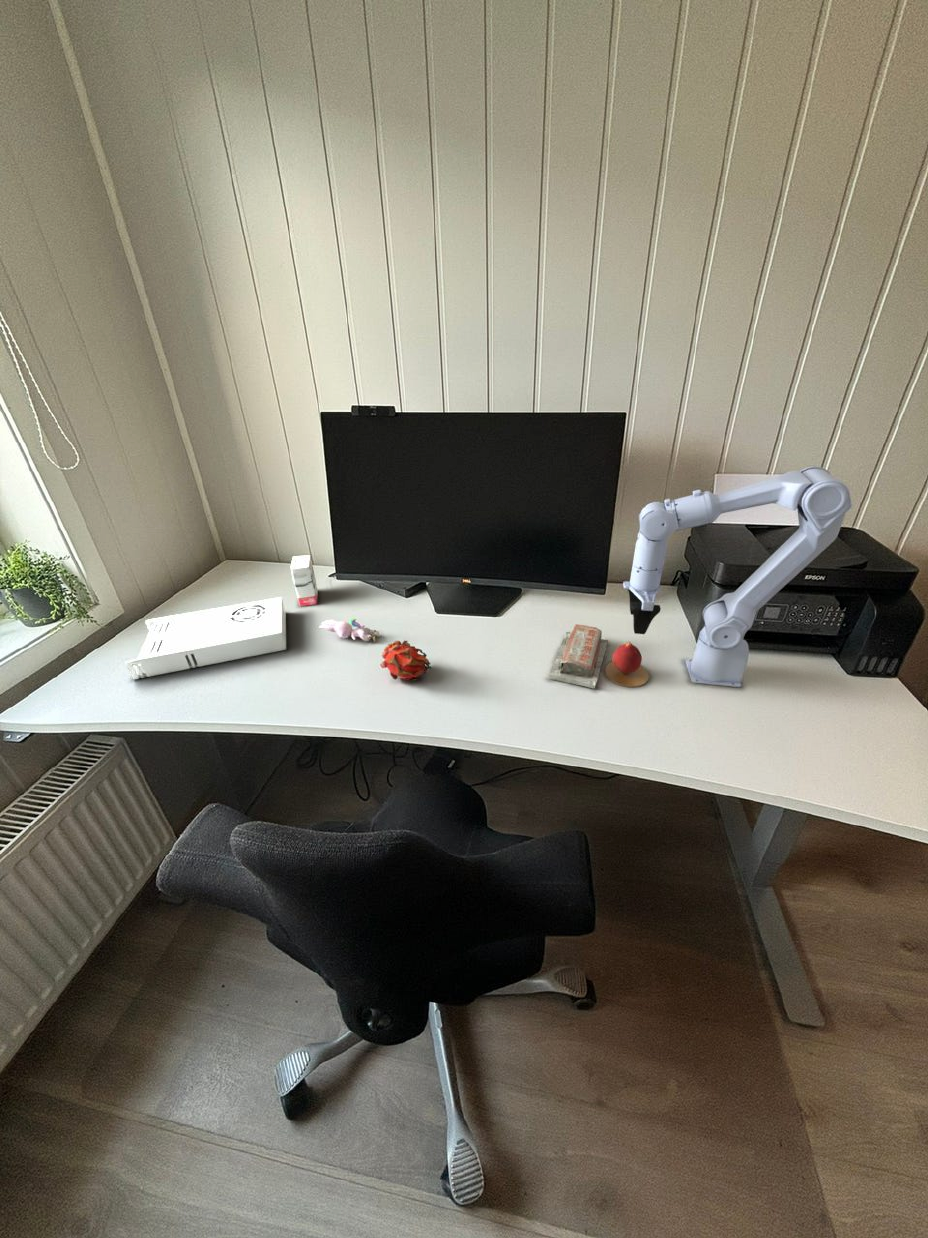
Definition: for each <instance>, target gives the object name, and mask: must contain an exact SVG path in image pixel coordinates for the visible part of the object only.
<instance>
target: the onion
mask: <svg viewBox="0 0 928 1238" xmlns="http://www.w3.org/2000/svg"><path fill="white" fill-rule="evenodd" d="M612 662H613V663H614V665H615V667H616V668H617V669H619V670H620V671H621V672H622V673H624V674H626V673H632V672H634V671H636V670H637V669H638V668H639V667H640V665H641V666H642V662H643V656H642V653H641V651H640V650H639V648H638V647H637V646H635V645H634V644H633V643H632V642H631V641H626V642H625V643H624V644H621V645H619V646H618V647H616V648H615V650H614V651H613V654H612Z"/></svg>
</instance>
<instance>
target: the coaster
mask: <svg viewBox="0 0 928 1238" xmlns="http://www.w3.org/2000/svg"><path fill="white" fill-rule="evenodd" d="M604 674H605V676H606V678H607V680H609V681H610V682H611V683H613V684H615V685H618V686H620V687H625V688H639V687H641V686H644V685H646V683H647V682H648V681H649V678H650V675H649V672H648V671H647V669H646V668H645V667H644V666H643V665H642V664H641V665H640V667H639V668H638V669H637V670H636V671H634V672H632V673H626V674H624V673H622V672H621V671H620V670H619V669H617V668H616V667H615V665H614V663H613V661H611V662H609V663H608V664H606V666H605V668H604Z"/></svg>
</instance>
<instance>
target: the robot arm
mask: <svg viewBox="0 0 928 1238" xmlns="http://www.w3.org/2000/svg"><path fill="white" fill-rule="evenodd" d="M663 501H664V502H660V501H652V502H650V503H648V504H646V505H645V506H644V507H643V508H642V509H641V511H640V513H639V514H638V521H639V531H638V533H637V539H636V541H635V547H634V553H633V558H632V559H633V560H632V567H631V572H630V578H629V580H626V581H623V583H622V585H623V587H622V588H623V589H625V590H627V592H628V595H629V612H630V615H633V619H632V620H633V626H632V627H633V633H634V634H635V635H646V633H647V632H648V629H649V627H650V625H651V623H652V621H653V620H654V618H655V617H656V616H657V615H658V614H660V612H661V609H662V608H661V606H660V604H655V600H656V598H657V596H658V594H659V593H660V591H661V580H662V575H663V570H664V565H665V560H666V556H667V551H668V539H669V537H670V536H671V535H672V534H673V533H674V532H679V531H683V530H687V529H692V528H696V527H700V526H704V525H707V524H712V523H714V522H716V520H717V519H718V518H719V517H720V516H721V515H722V514H726V513H731V512H734V511H742V510H745V509H746V510H747V509H751V508H755V507H762V506H765V505H771V504H774V505H777V506H781V507H784V508H786V509H789V510H792V511H797V518H798V526H799V527H798V528H797V530H795V532H794V533H792V535H790V537H789V538H788V539H786V540H785V542H783V544H782V545H780V546H779V548H777V549H776V550H775V552H773V553H772V554H771V555H770V556H769V557H768V558H767V559H766V561H764V562H763V563H762V564H761V565H760V566H759V567H758V568H757V569H756V570H755V571H754V572H753V573H752V574H751V575H750V576H749V577H748V578H747V579H746V580H745V581H744V582H743V583H742V584H741V585H740V586H739V587H738V588H736V590H735V591H733V592H727V593H724V594H723V595H722V596H721V597H720V598H719V599H717V600H714V601H711V602H710V603H708V604H707V605H706V606H705V607H704V608H703V610H702V619H703V622H704V626H703V628H702V629H701V630H700V631H699V633H698V638H697V642H696V644H695V648H694V653H693V656H692V659H691V658H690V659H689V658H687V659H685V664H686V667H687V671H688V675H689V678H690V681H691V683H694V684H701V685H702V684H703V685H711V686H722V687H731V688H732V687H733V688H741V687H742V684H741V683H742V679H743V676H744V673H745V670H746V668H747V665H748V661H749V657H750V656H749V655H750V648H749V644H748V642H747V640H746V639H744V637H745V635H746V633H747V632H748V631H749V630H750V629H751V628H752V626H753V624H754V621H755V618H756V614H757V613H758V611H759V610H760V609H761V608H762V607H763V606H765V605H766V604H767V603H768V602H769V601H770V600H771V599H772V598H774V596H776V594H778V593H779V592H780V591H781V590H782V589H783V588H785V586H786V585H787V584H788V583H790V582H791V581H792V580H793V579H794V578H795V577H796V576H797V575H798V574H799V573H800V572H802V571H803V570H804V569H805V568H806V567H807V566H808V565H809V564H810V563H812V562H813V561H814V560H815V559H816V558H817V557H818V556H819V555H821V553H822V552H824V551H825V550H826V549H827V548H828V547H829V546H830V545H831V544H832V543H834V541H836V540H837V538H838V536H839V533H840V530H841V527H842V524H843V522H844V520H845V517H846V514H847V512H849V511H850V510H851V509H852V507H853V505H852V499H851V493H850V489H849V487H848V486H847V485H846V484H845V483H844V482H843V481H840V480H839V479H837V478H836V477H834V476H833V475H832V474H831V472H829V470H827V469H826V468H824V467H821V466H809V467H805V468H802V469H801V470H799V469H795V470H789V471H787V472H785V473H782V474H779V475H777V476H774V477H771V478H767V479H765V480H762V481H758V482H755V483H752V484H748V485H745V486H742V487H739V488H736V489H732V490H729V491H727V492H723V493H719V494H715V493H713V492H711V491H709V490H705V491H702V490H701V489H696V490H693V491H692V494H690V495H686V496H683V497H679V498H675V499H672V500H671V498H666V499H664V500H663Z"/></svg>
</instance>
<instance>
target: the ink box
mask: <svg viewBox="0 0 928 1238" xmlns="http://www.w3.org/2000/svg"><path fill="white" fill-rule="evenodd" d="M290 573H291V576H292V582H293V585H294V588H295V592H296V597H297V601H298V604H299V605H298V606H299V607H305V606H306V607H307V606H313V605H317V604H318V593H319V592H318V591H319V590H318V589H319V588H318V585H317V580H316V575H315V570H314V566H313V561H312V557H311V555H296V556H292V559H291V564H290Z"/></svg>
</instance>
